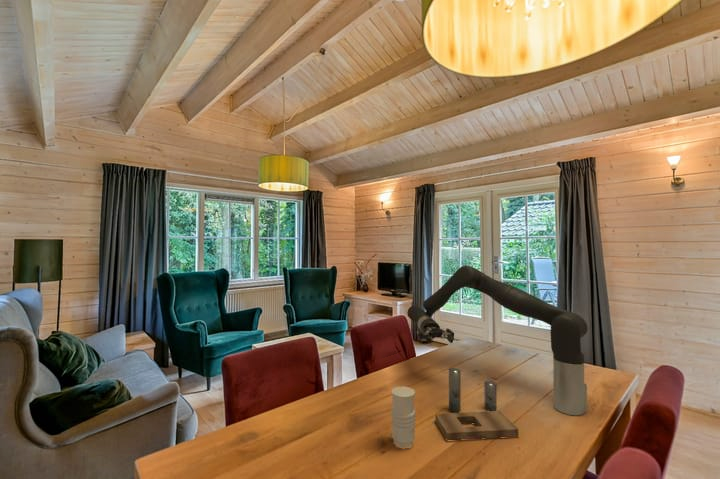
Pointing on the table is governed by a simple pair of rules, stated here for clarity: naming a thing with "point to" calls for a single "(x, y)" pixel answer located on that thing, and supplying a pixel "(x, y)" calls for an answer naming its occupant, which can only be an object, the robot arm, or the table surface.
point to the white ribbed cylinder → (403, 416)
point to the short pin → (490, 395)
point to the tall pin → (454, 390)
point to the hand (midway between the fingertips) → (441, 340)
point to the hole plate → (486, 422)
